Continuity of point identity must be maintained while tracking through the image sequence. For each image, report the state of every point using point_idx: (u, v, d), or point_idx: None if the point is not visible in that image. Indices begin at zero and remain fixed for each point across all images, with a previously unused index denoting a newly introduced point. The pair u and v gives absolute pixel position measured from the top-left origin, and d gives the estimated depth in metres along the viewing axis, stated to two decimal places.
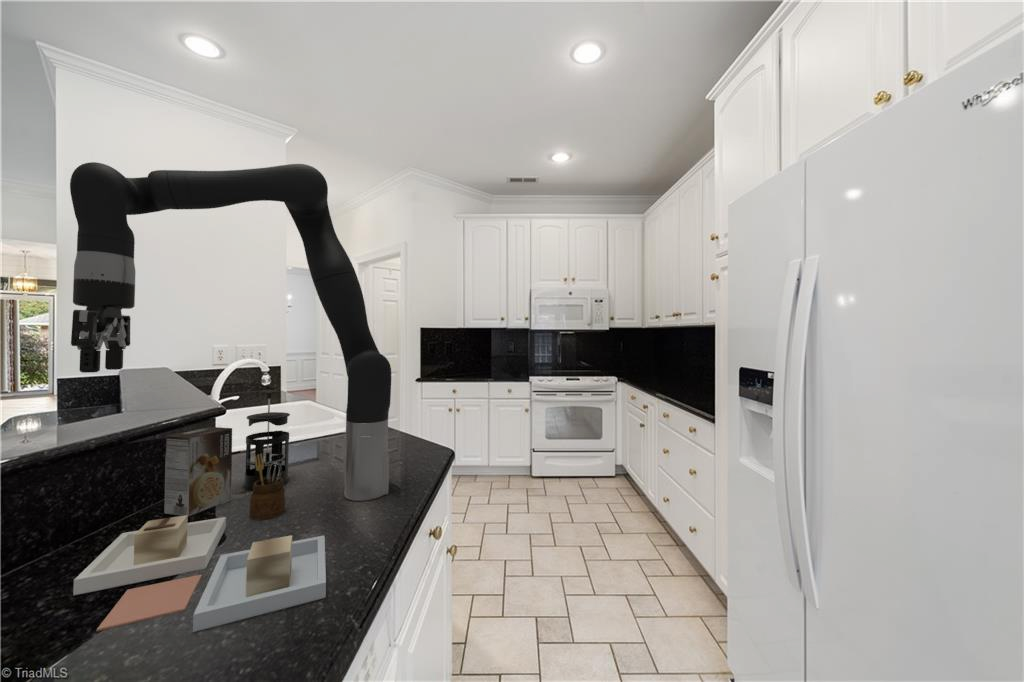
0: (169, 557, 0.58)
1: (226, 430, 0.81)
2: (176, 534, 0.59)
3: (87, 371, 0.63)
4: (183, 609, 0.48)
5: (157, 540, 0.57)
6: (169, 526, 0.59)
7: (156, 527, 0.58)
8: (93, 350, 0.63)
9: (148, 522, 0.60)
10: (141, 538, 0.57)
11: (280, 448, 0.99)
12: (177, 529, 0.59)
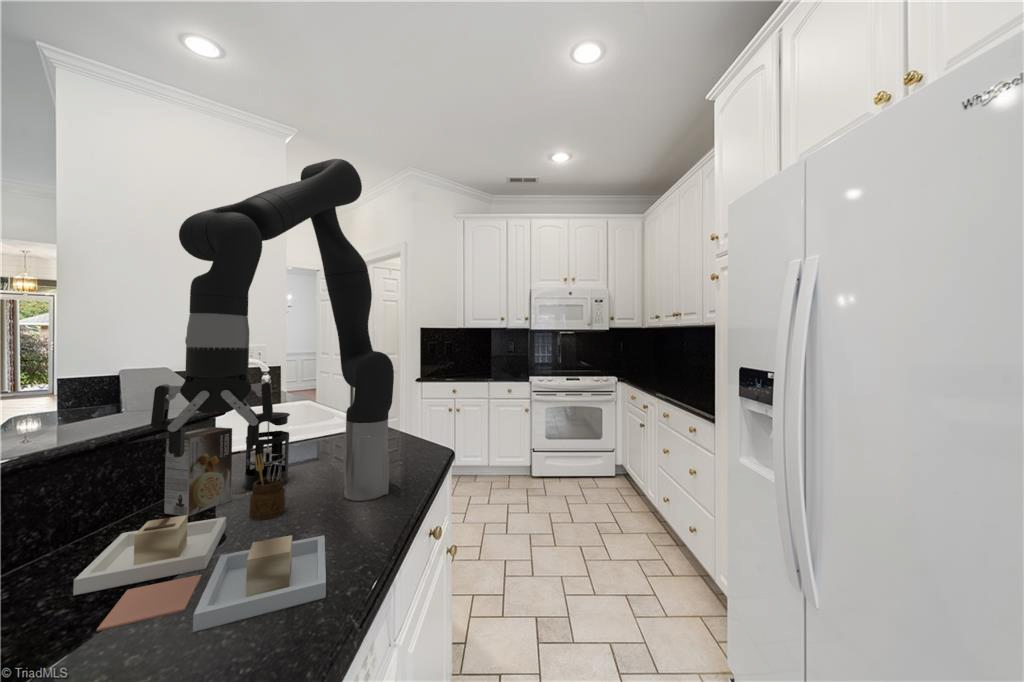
0: (169, 557, 0.58)
1: (226, 430, 0.81)
2: (176, 534, 0.59)
3: (252, 447, 0.59)
4: (183, 609, 0.48)
5: (157, 540, 0.57)
6: (169, 526, 0.59)
7: (156, 527, 0.58)
8: None
9: (148, 522, 0.60)
10: (141, 538, 0.57)
11: (280, 448, 0.99)
12: (177, 529, 0.59)
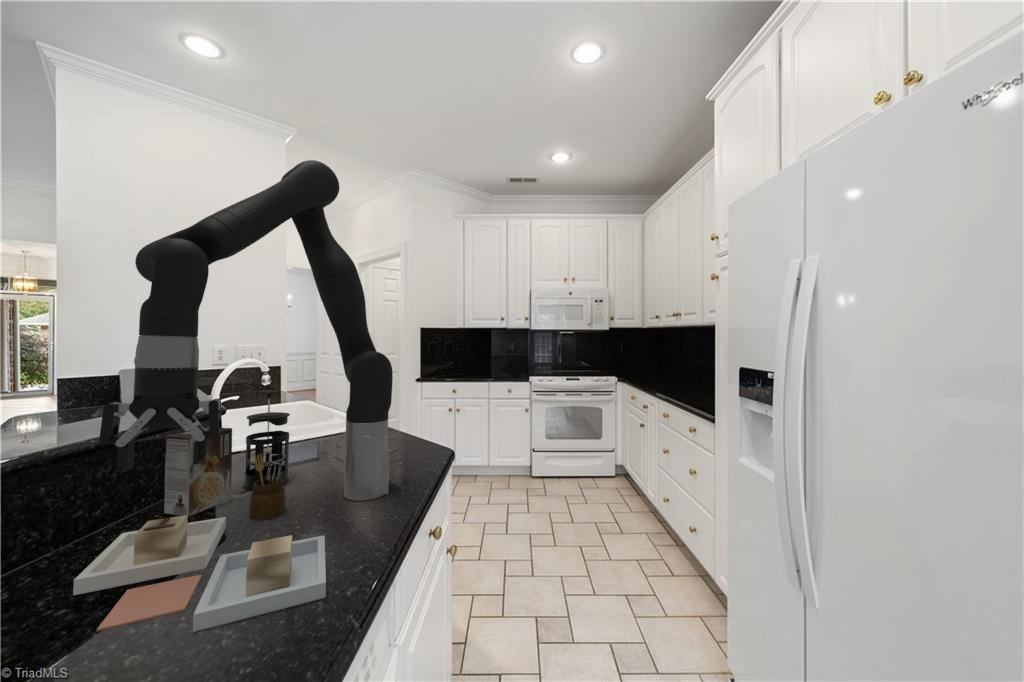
0: (169, 557, 0.58)
1: (226, 430, 0.81)
2: (176, 534, 0.59)
3: (200, 462, 0.62)
4: (183, 609, 0.48)
5: (157, 540, 0.57)
6: (169, 526, 0.59)
7: (156, 527, 0.58)
8: None
9: (148, 522, 0.60)
10: (141, 538, 0.57)
11: (280, 448, 0.99)
12: (177, 529, 0.59)
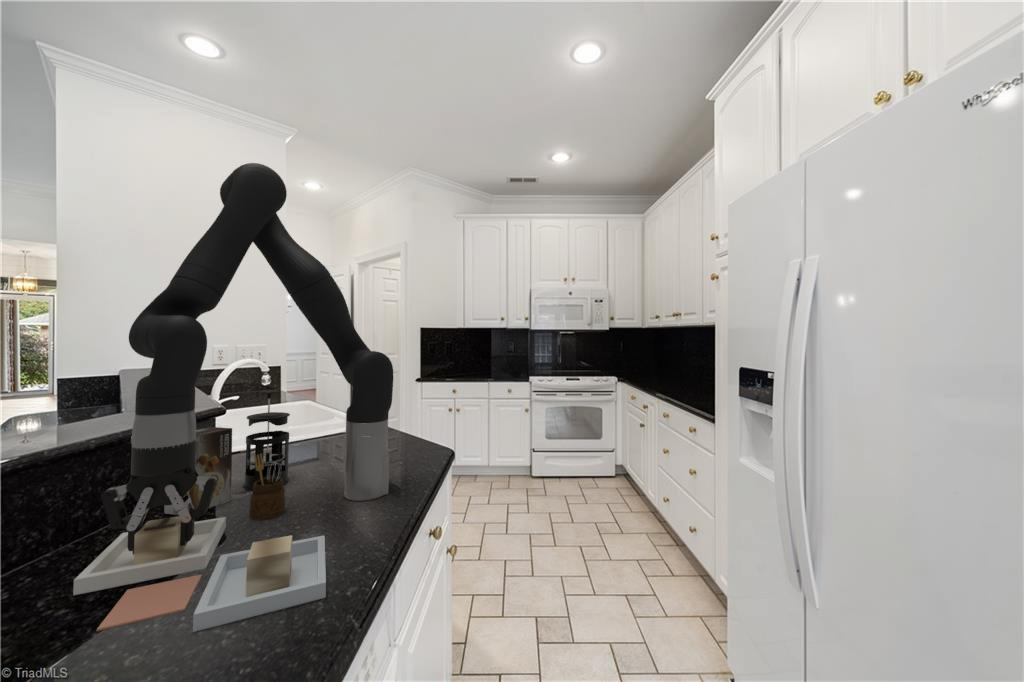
0: (169, 557, 0.58)
1: (226, 430, 0.81)
2: (176, 534, 0.59)
3: (186, 542, 0.61)
4: (183, 609, 0.48)
5: (157, 540, 0.57)
6: (169, 526, 0.59)
7: (156, 527, 0.58)
8: None
9: (148, 522, 0.60)
10: (141, 538, 0.57)
11: (280, 448, 0.99)
12: (177, 529, 0.59)
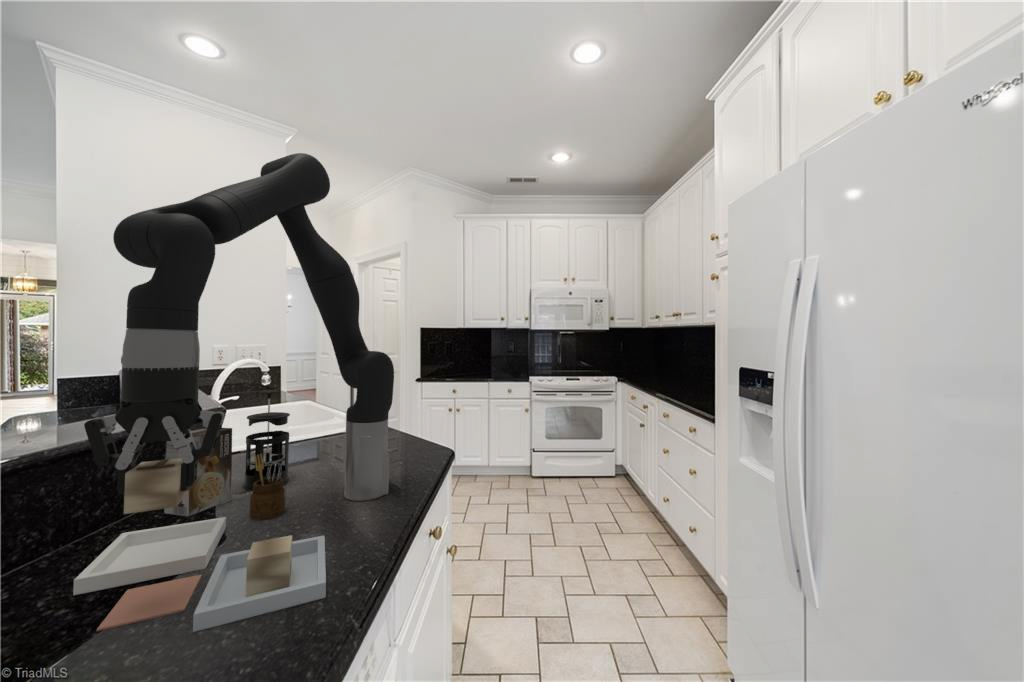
0: (167, 502, 0.48)
1: (226, 430, 0.81)
2: (176, 475, 0.49)
3: (188, 488, 0.51)
4: (183, 609, 0.48)
5: (152, 481, 0.48)
6: (167, 466, 0.49)
7: (152, 467, 0.48)
8: None
9: (142, 463, 0.50)
10: (133, 478, 0.47)
11: (280, 448, 0.99)
12: (177, 469, 0.49)
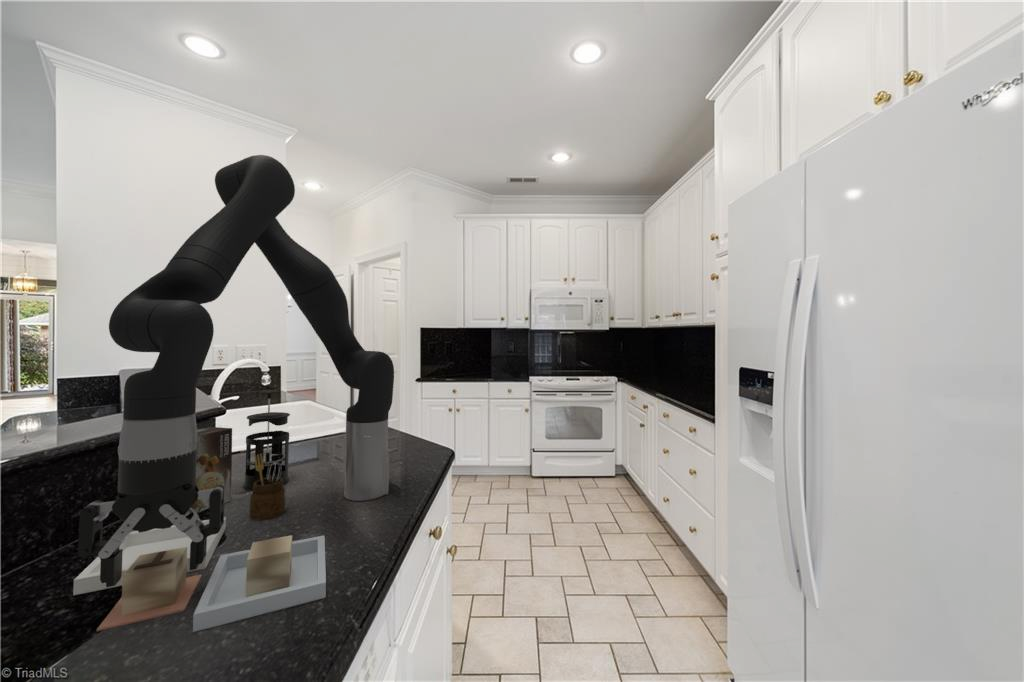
0: (165, 601, 0.48)
1: (226, 430, 0.81)
2: (173, 573, 0.48)
3: (198, 565, 0.51)
4: (183, 609, 0.48)
5: (150, 581, 0.47)
6: (165, 563, 0.49)
7: (149, 564, 0.48)
8: None
9: (140, 557, 0.50)
10: (131, 579, 0.47)
11: (280, 448, 0.99)
12: (175, 567, 0.49)
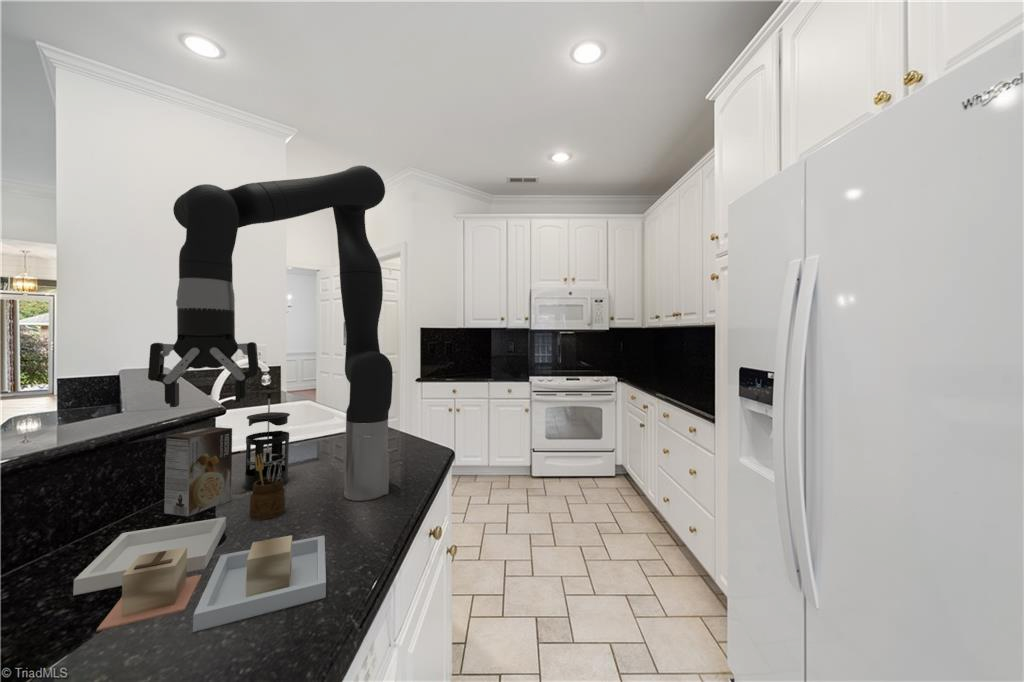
0: (165, 601, 0.48)
1: (226, 430, 0.81)
2: (173, 573, 0.48)
3: (241, 400, 0.65)
4: (183, 609, 0.48)
5: (150, 581, 0.47)
6: (165, 563, 0.49)
7: (149, 564, 0.48)
8: None
9: (140, 557, 0.50)
10: (131, 579, 0.47)
11: (280, 448, 0.99)
12: (175, 567, 0.49)
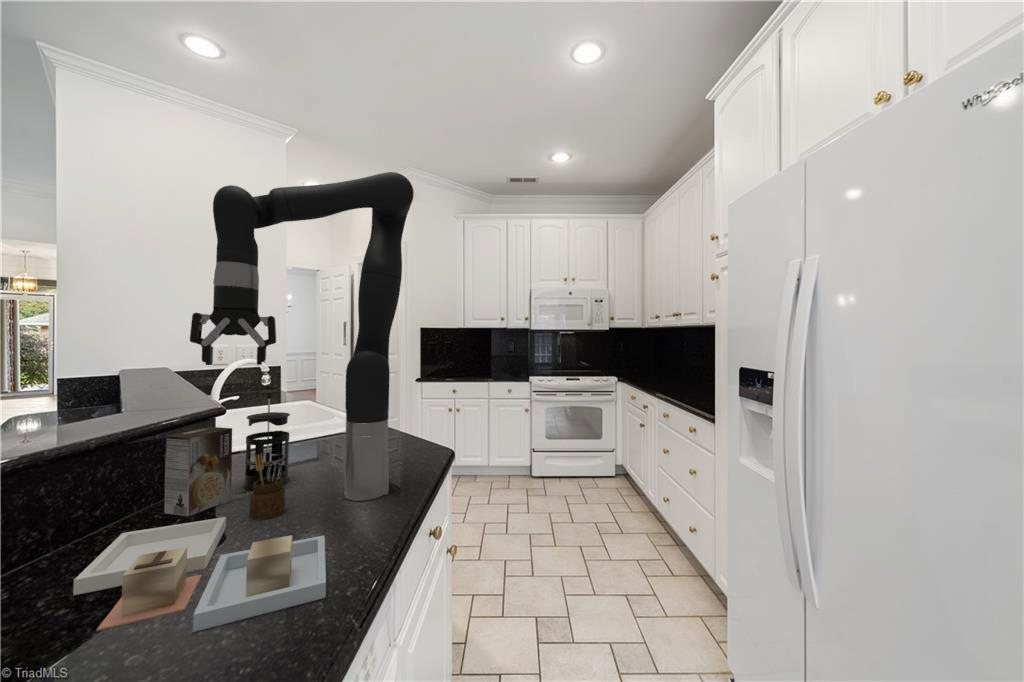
0: (165, 601, 0.48)
1: (226, 430, 0.81)
2: (173, 573, 0.48)
3: (261, 363, 0.80)
4: (183, 609, 0.48)
5: (150, 581, 0.47)
6: (165, 563, 0.49)
7: (149, 564, 0.48)
8: None
9: (140, 557, 0.50)
10: (131, 579, 0.47)
11: (280, 448, 0.99)
12: (175, 567, 0.49)
